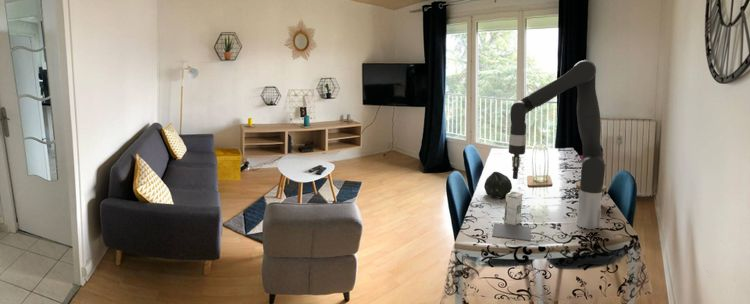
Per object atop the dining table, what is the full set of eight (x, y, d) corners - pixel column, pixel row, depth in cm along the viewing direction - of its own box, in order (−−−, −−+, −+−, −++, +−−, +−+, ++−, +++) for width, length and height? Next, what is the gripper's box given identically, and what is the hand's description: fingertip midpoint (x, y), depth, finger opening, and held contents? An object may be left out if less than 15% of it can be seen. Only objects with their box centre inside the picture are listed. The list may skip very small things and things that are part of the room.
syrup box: (508, 219, 225) (510, 190, 221) (520, 222, 221) (522, 193, 218) (503, 223, 220) (505, 193, 217) (516, 226, 217) (517, 196, 213)
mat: (530, 227, 214) (530, 226, 214) (530, 240, 201) (530, 239, 200) (494, 224, 219) (494, 223, 219) (492, 236, 205) (492, 235, 205)
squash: (515, 183, 262) (498, 163, 261) (518, 192, 248) (499, 171, 247) (495, 198, 267) (477, 178, 266) (496, 208, 253) (478, 187, 252)
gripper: (525, 146, 214) (523, 183, 218) (525, 141, 226) (523, 175, 230) (508, 145, 216) (506, 181, 220) (509, 140, 229) (507, 174, 233)
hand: (515, 178), depth 225 cm, fingers closed
